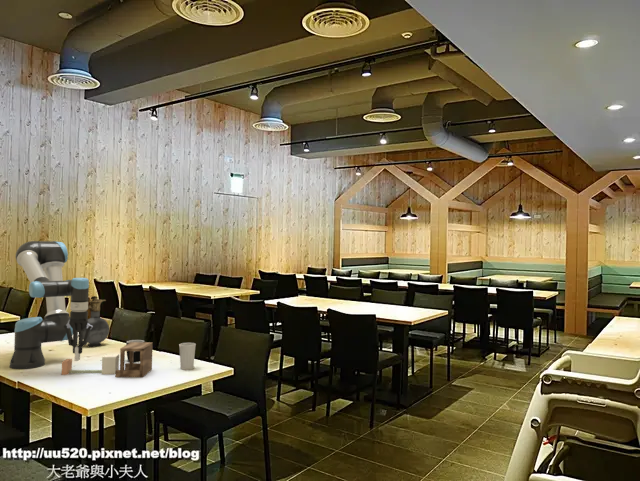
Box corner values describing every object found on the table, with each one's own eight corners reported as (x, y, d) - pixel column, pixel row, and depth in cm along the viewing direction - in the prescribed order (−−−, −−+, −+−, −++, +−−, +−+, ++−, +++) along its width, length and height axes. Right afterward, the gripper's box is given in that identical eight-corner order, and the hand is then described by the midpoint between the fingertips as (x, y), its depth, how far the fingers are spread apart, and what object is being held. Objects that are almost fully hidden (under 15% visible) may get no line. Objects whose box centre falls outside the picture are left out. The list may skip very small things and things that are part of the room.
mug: (128, 363, 259) (128, 343, 259) (123, 360, 266) (124, 340, 267) (151, 360, 266) (152, 341, 266) (147, 357, 273) (147, 338, 273)
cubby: (115, 377, 232) (116, 348, 232) (125, 369, 247) (126, 342, 247) (142, 377, 232) (143, 348, 233) (151, 369, 247) (152, 342, 248)
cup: (180, 370, 246) (181, 346, 246) (177, 367, 253) (177, 343, 253) (196, 369, 249) (197, 345, 249) (193, 365, 256) (193, 342, 256)
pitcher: (111, 345, 305) (112, 295, 305) (80, 349, 290) (81, 297, 291) (102, 342, 312) (103, 294, 312) (71, 347, 297) (72, 296, 297)
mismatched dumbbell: (61, 374, 234) (62, 357, 234) (66, 371, 240) (66, 354, 240) (115, 374, 237) (115, 357, 237) (118, 371, 243) (119, 354, 243)
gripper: (61, 311, 234) (59, 361, 235) (90, 312, 235) (88, 362, 235) (68, 309, 242) (66, 358, 242) (96, 309, 243) (94, 358, 243)
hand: (77, 360), depth 239 cm, fingers closed
